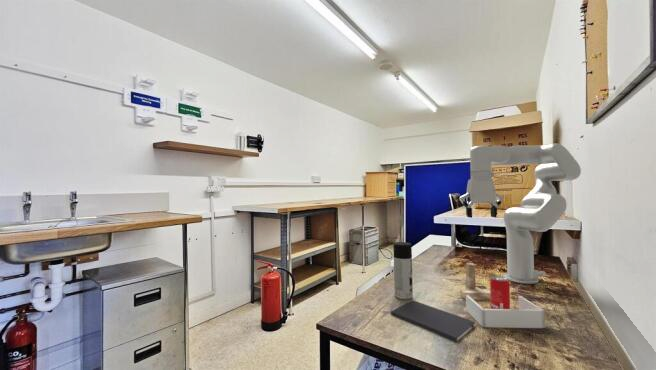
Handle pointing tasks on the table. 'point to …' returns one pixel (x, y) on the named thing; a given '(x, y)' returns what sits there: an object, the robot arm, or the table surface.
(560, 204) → the robot arm
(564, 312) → the table surface
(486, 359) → the table surface
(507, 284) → the beverage can
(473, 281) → the wooden block structure
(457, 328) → the notebook
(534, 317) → the box
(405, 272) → the spray can
